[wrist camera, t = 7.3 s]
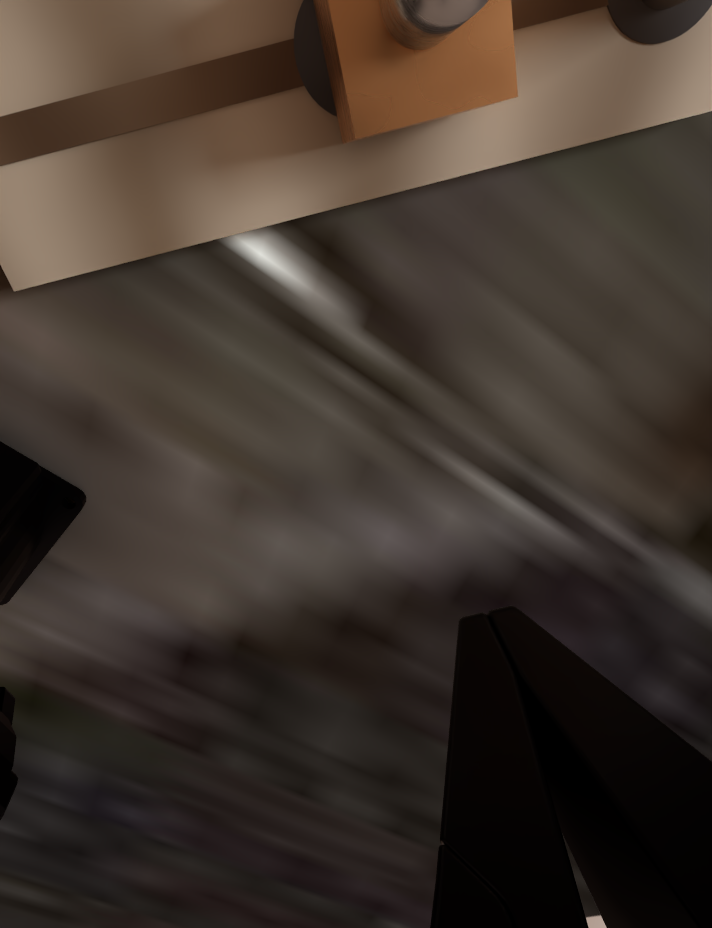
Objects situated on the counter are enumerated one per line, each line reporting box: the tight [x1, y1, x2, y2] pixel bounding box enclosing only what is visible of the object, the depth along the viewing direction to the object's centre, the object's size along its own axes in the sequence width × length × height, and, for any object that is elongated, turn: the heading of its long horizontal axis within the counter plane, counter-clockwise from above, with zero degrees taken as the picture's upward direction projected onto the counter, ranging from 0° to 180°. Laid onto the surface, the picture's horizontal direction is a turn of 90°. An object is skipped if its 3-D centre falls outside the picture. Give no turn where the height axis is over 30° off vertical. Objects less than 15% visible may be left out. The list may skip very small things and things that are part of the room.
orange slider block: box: [313, 0, 518, 144], centre depth 11 cm, size 4×4×6 cm
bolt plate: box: [0, 0, 712, 291], centre depth 12 cm, size 21×7×8 cm, turn 103°
